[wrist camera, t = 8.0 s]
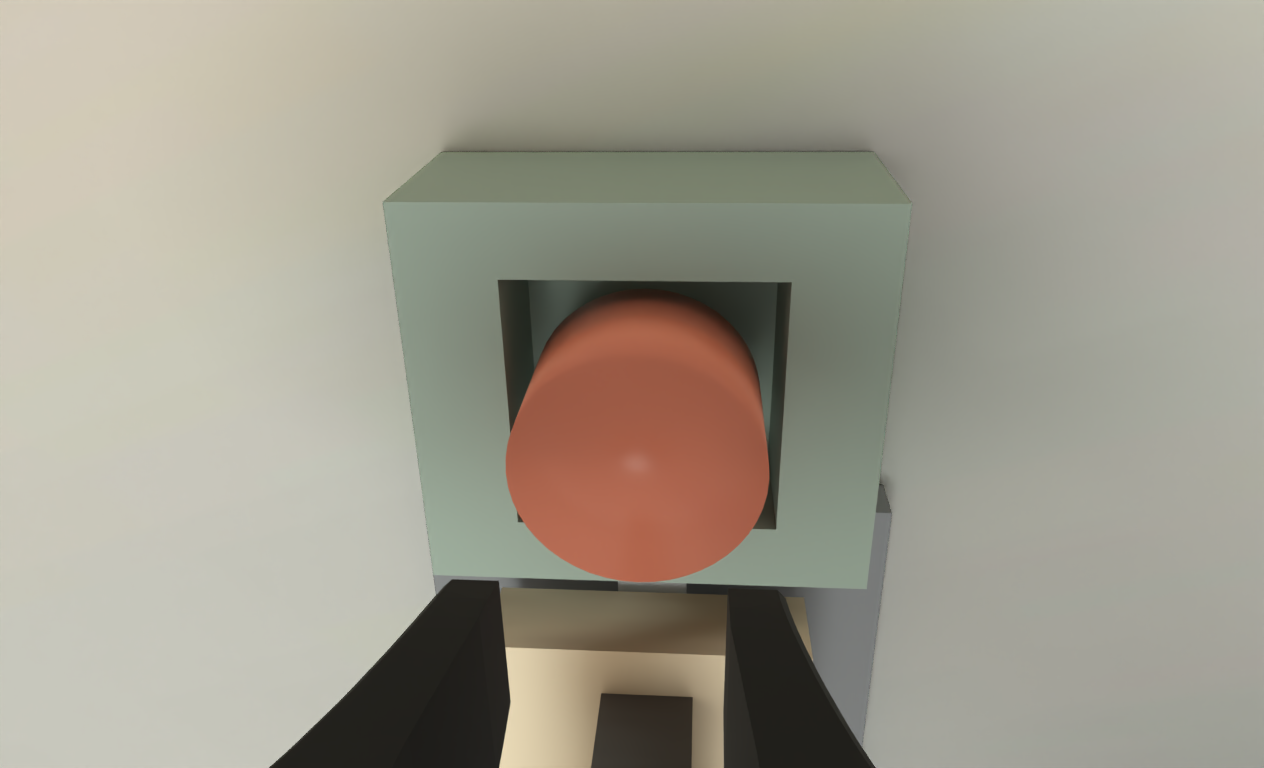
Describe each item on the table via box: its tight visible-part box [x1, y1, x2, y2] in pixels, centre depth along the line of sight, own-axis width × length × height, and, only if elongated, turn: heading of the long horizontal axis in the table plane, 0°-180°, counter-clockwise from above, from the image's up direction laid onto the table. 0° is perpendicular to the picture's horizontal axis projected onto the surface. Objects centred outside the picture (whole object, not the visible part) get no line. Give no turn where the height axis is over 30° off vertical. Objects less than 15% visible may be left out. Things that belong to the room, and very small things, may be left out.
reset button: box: [506, 289, 769, 582], centre depth 17 cm, size 4×4×3 cm
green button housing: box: [383, 152, 912, 589], centre depth 19 cm, size 9×8×4 cm
